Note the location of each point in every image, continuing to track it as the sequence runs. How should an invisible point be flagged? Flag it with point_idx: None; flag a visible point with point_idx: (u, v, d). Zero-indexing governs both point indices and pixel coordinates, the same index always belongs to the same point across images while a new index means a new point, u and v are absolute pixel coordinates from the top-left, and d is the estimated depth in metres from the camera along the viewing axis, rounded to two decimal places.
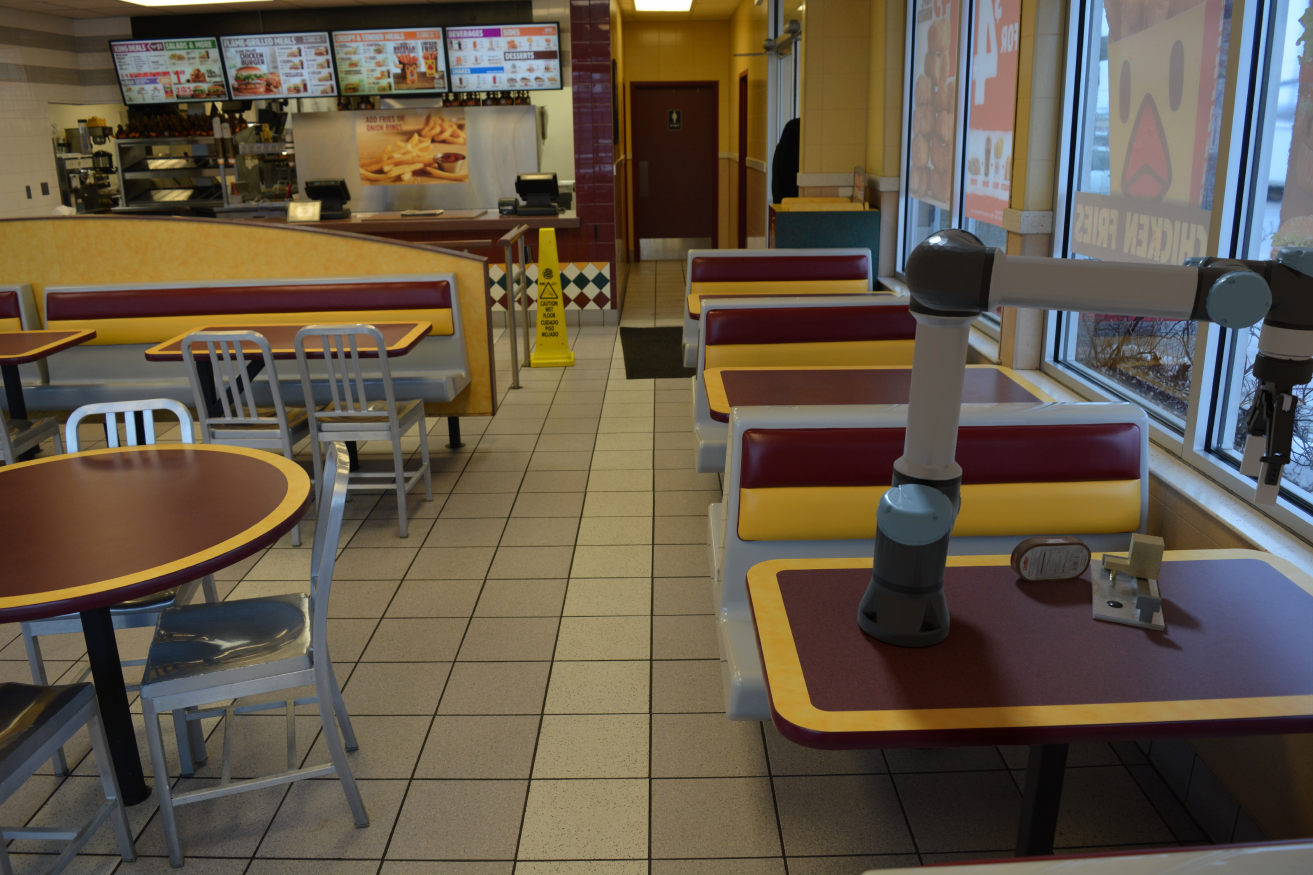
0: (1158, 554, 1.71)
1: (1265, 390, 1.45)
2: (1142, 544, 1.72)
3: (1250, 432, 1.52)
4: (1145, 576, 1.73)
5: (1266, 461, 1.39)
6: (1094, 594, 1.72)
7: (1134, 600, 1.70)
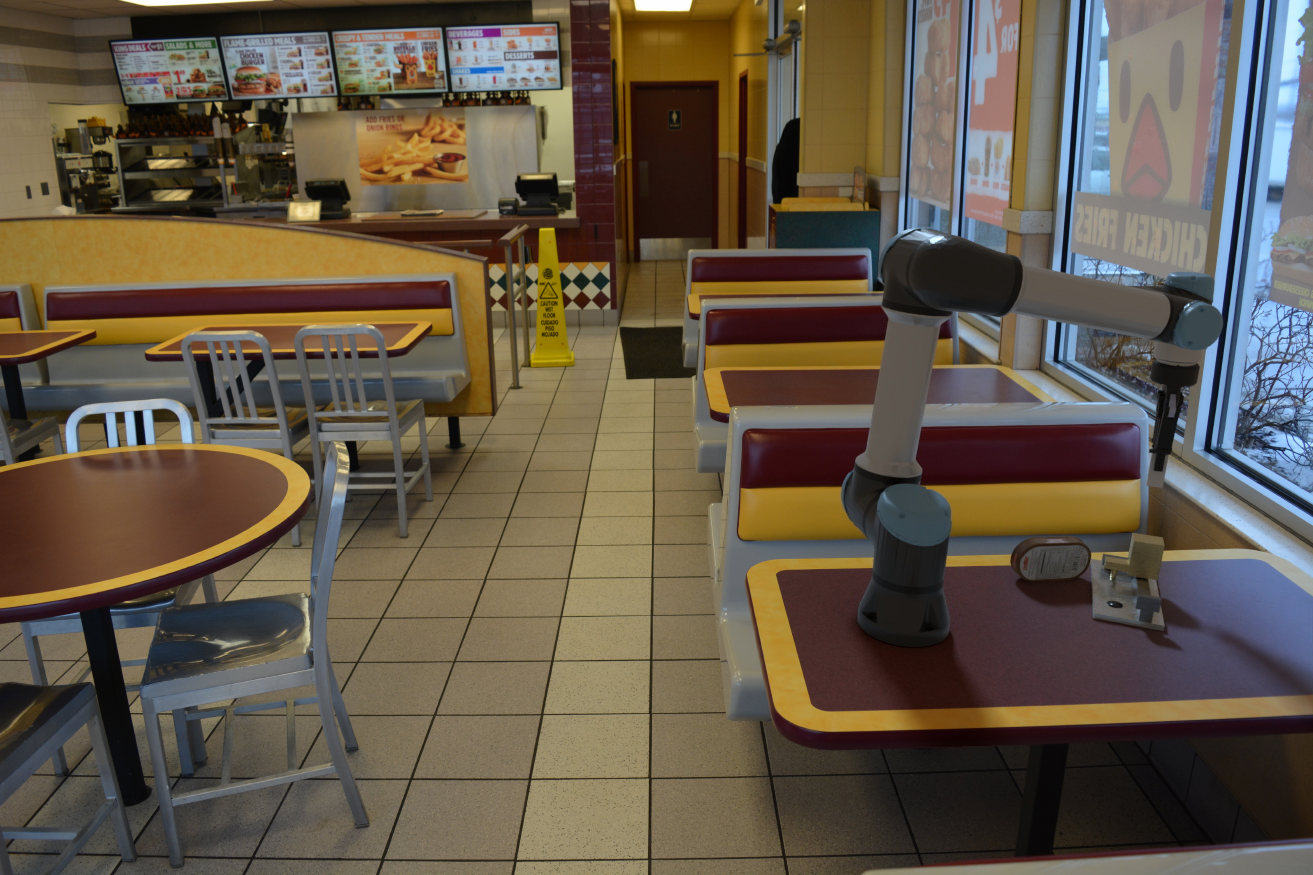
0: (1158, 554, 1.71)
1: (1161, 390, 1.73)
2: (1142, 544, 1.72)
3: (1154, 446, 1.75)
4: (1145, 576, 1.73)
5: (1153, 453, 1.74)
6: (1094, 594, 1.72)
7: (1134, 600, 1.70)
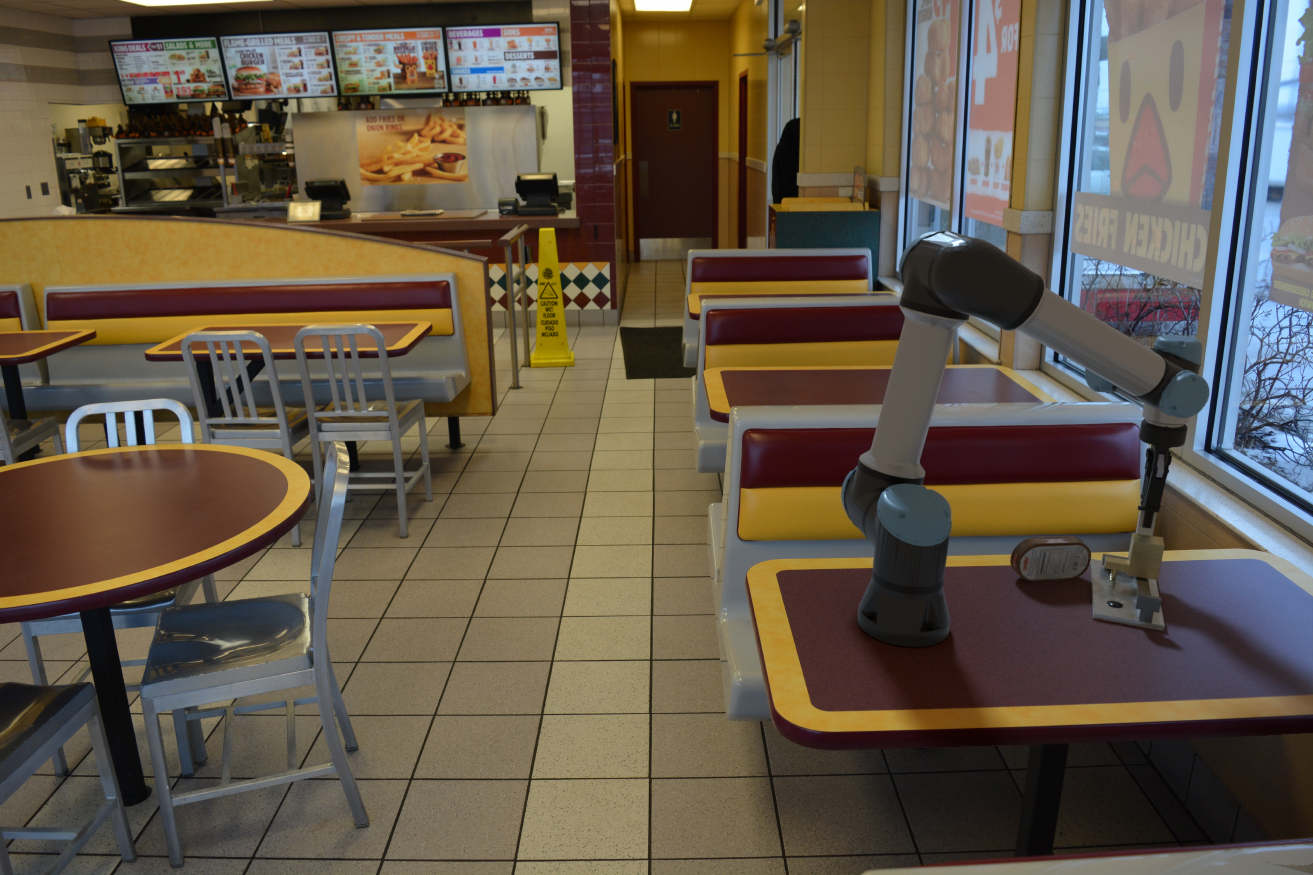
0: (1158, 554, 1.71)
1: (1150, 449, 1.76)
2: (1142, 544, 1.72)
3: (1143, 503, 1.79)
4: (1145, 576, 1.73)
5: (1142, 510, 1.77)
6: (1094, 594, 1.72)
7: (1134, 600, 1.70)
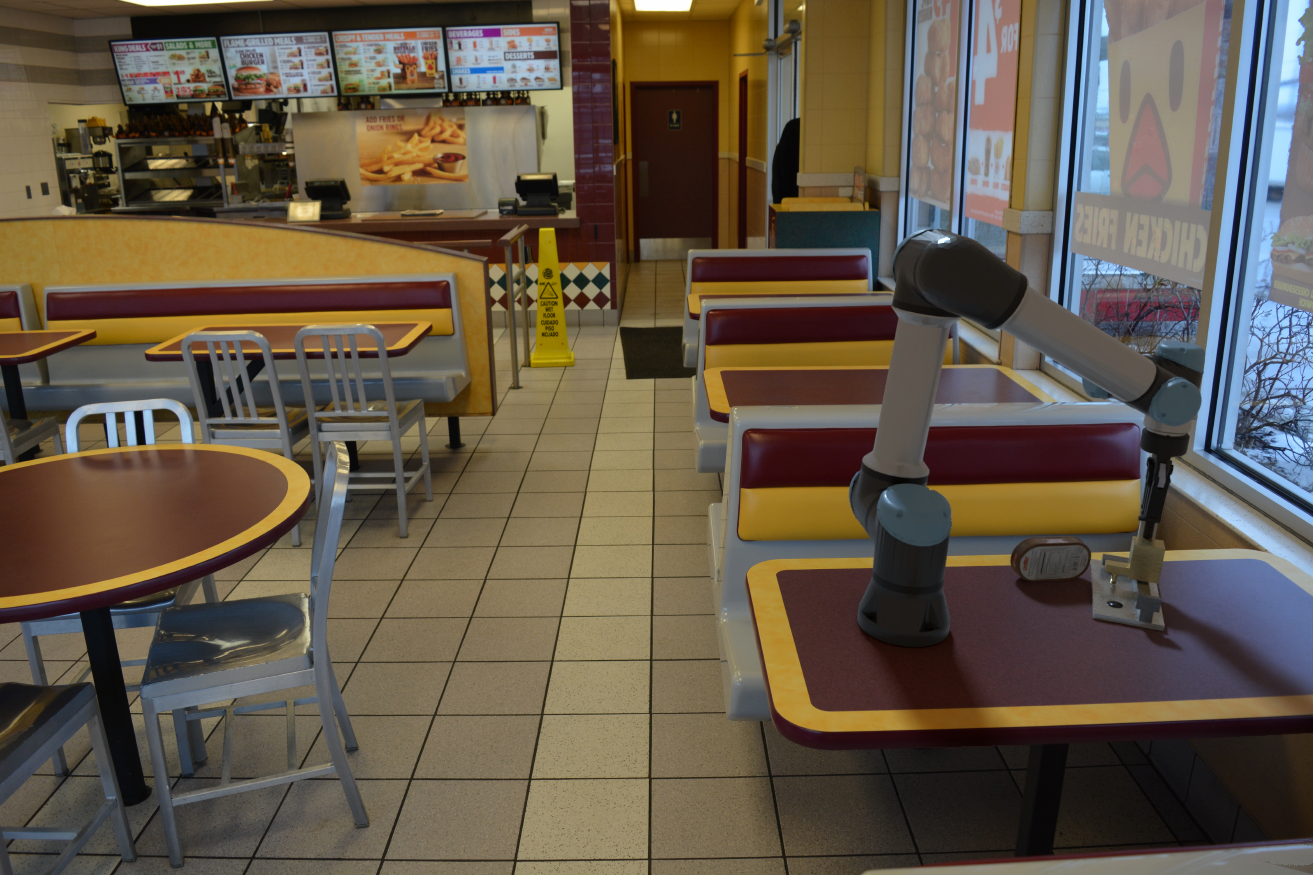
0: (1158, 558, 1.70)
1: (1151, 458, 1.72)
2: (1142, 547, 1.70)
3: (1143, 513, 1.75)
4: (1146, 579, 1.72)
5: (1142, 520, 1.73)
6: (1094, 594, 1.72)
7: (1134, 600, 1.70)
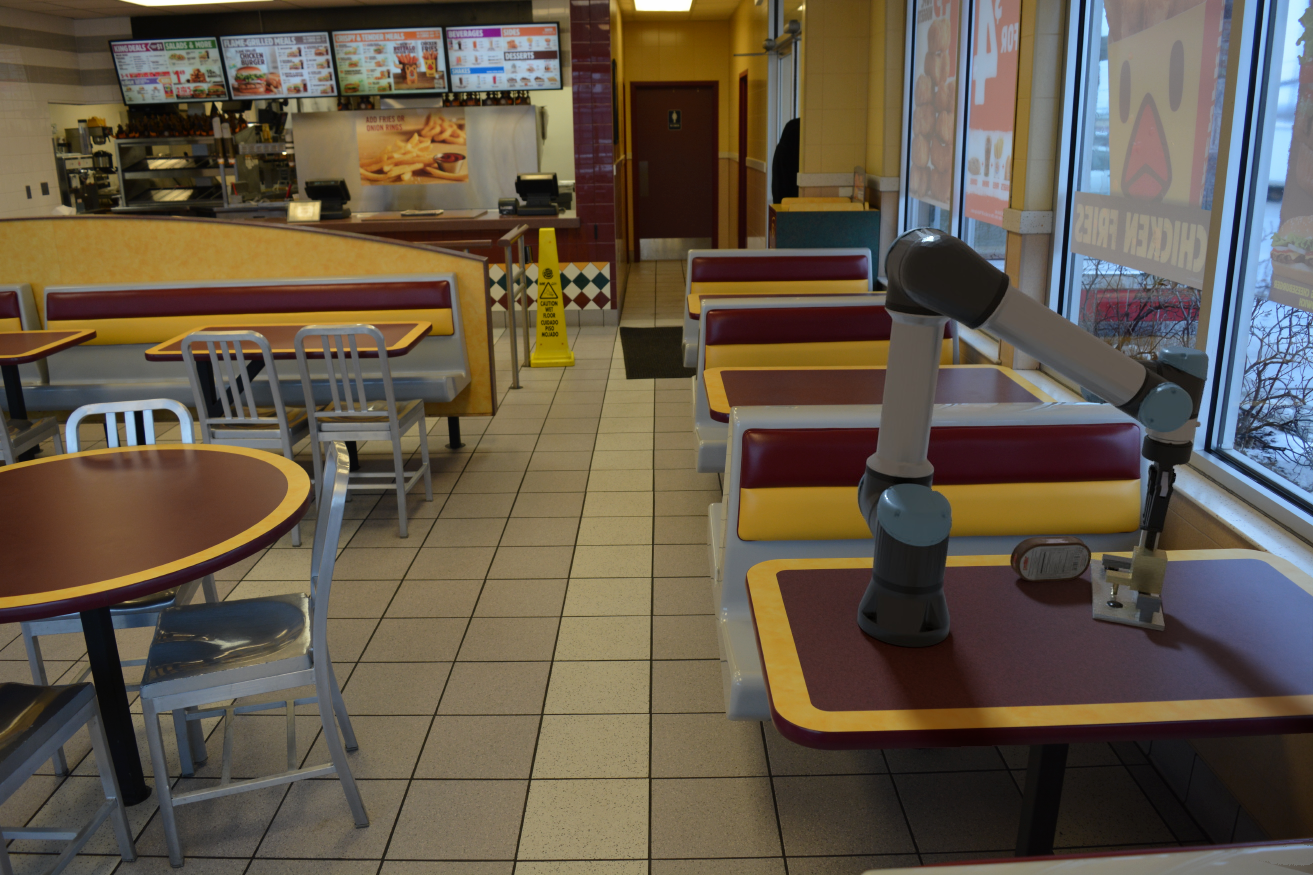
0: (1161, 568, 1.66)
1: (1153, 465, 1.68)
2: (1144, 558, 1.66)
3: (1145, 522, 1.71)
4: (1147, 590, 1.67)
5: (1144, 530, 1.69)
6: (1094, 594, 1.72)
7: (1134, 600, 1.70)
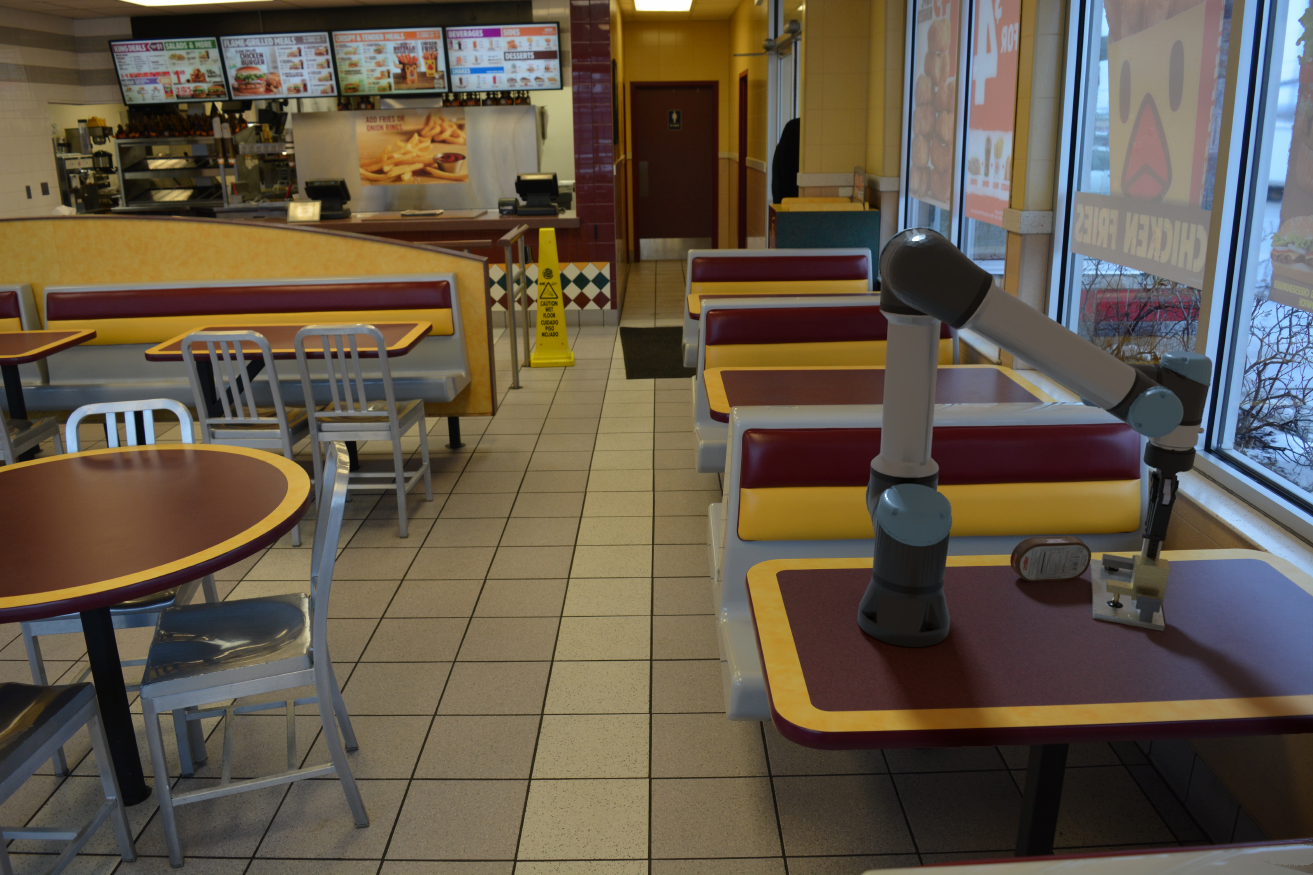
0: (1163, 578, 1.62)
1: (1155, 472, 1.64)
2: (1146, 567, 1.62)
3: (1147, 530, 1.67)
4: None
5: (1146, 538, 1.65)
6: (1094, 594, 1.72)
7: (1134, 600, 1.70)
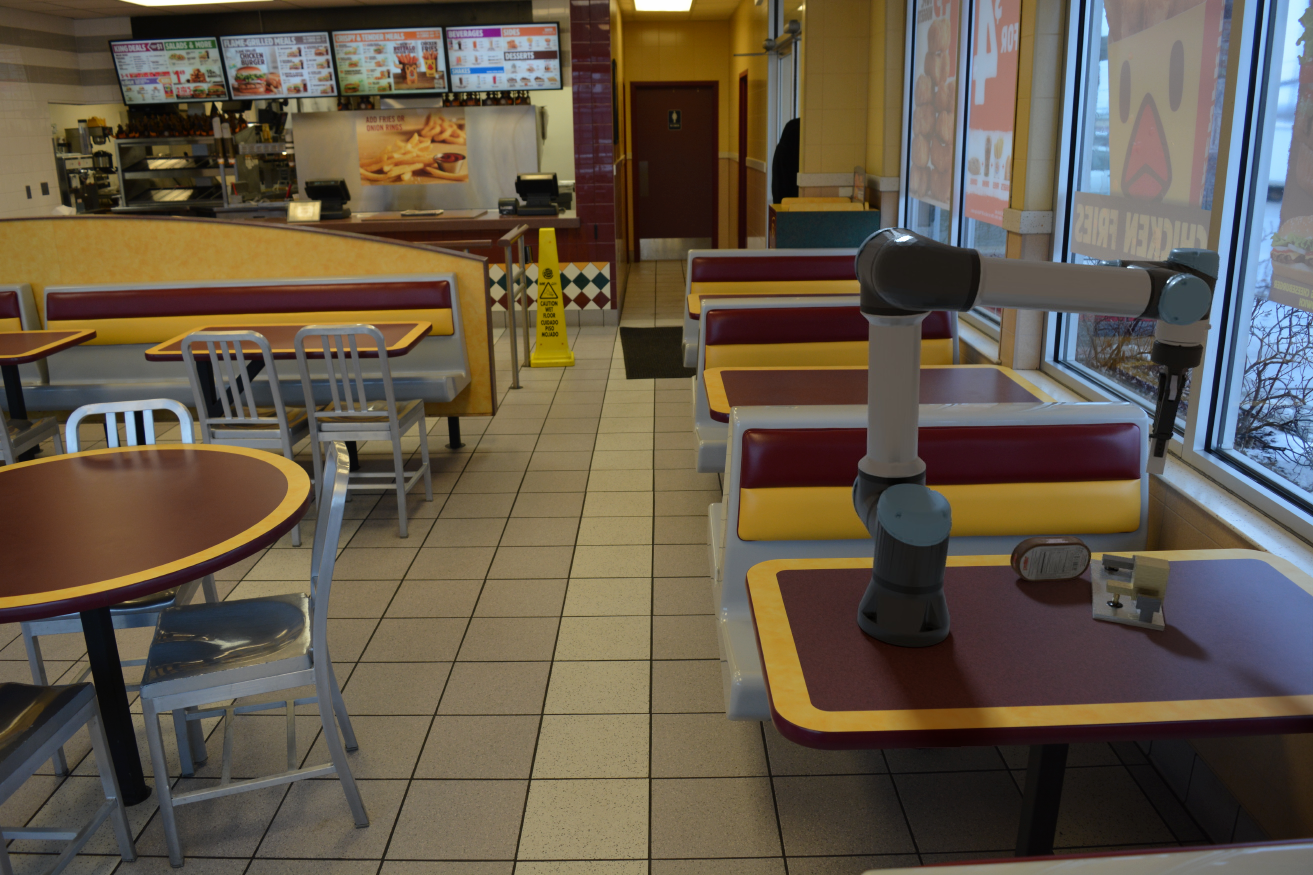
0: (1163, 578, 1.62)
1: (1162, 372, 1.65)
2: (1146, 567, 1.62)
3: (1154, 431, 1.68)
4: None
5: (1153, 438, 1.66)
6: (1094, 594, 1.72)
7: None
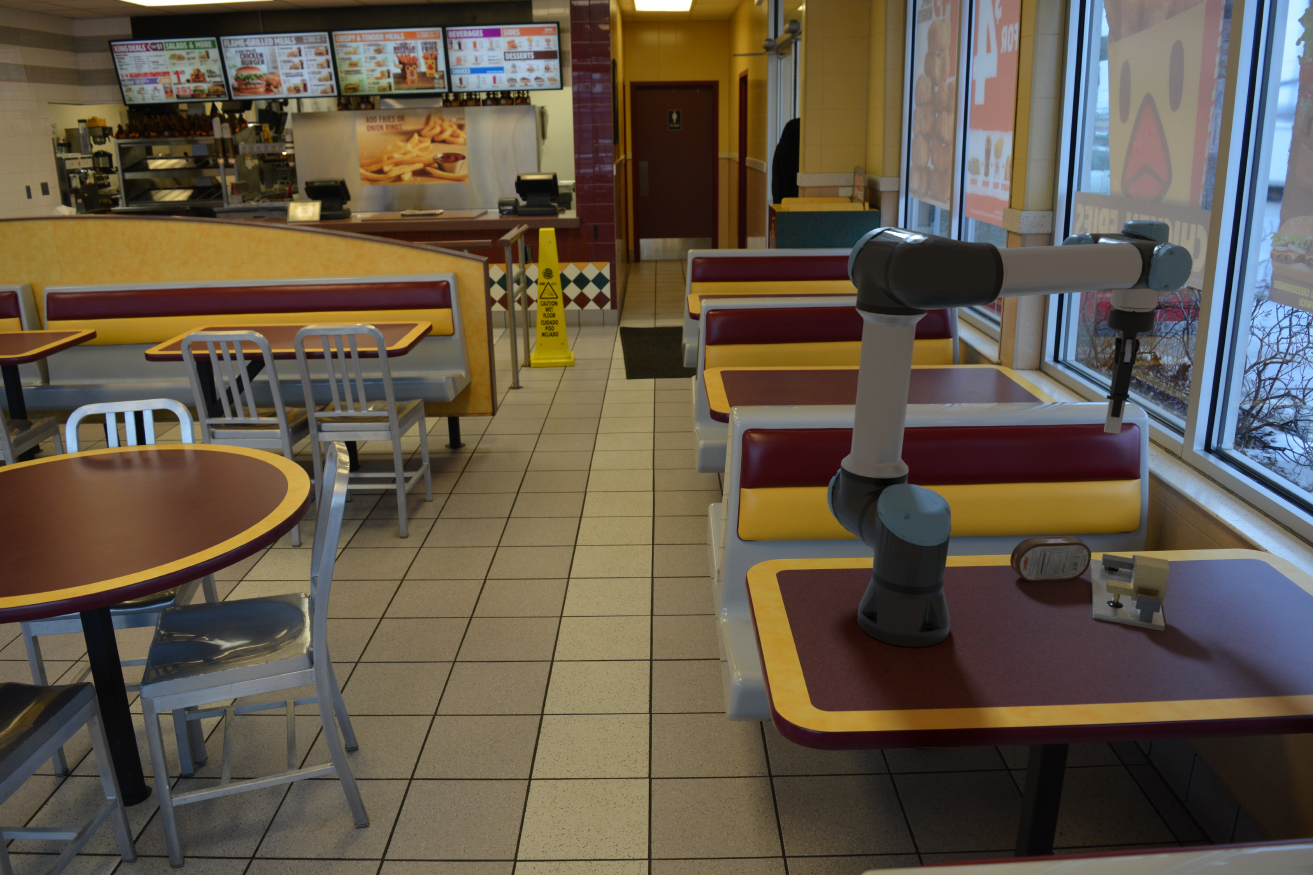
0: (1163, 578, 1.62)
1: (1118, 337, 1.77)
2: (1146, 567, 1.62)
3: (1112, 393, 1.79)
4: None
5: (1111, 399, 1.78)
6: (1094, 594, 1.72)
7: None
